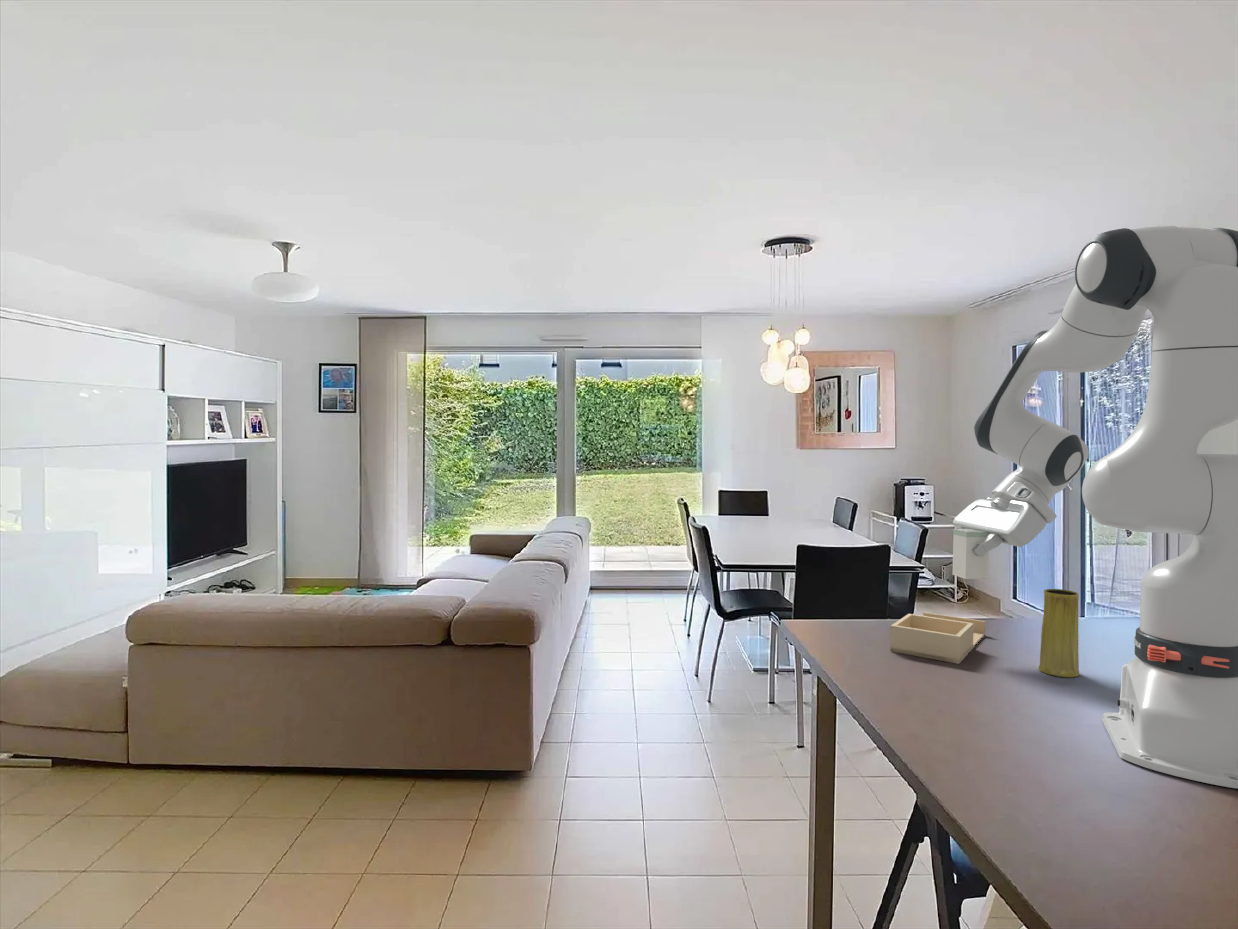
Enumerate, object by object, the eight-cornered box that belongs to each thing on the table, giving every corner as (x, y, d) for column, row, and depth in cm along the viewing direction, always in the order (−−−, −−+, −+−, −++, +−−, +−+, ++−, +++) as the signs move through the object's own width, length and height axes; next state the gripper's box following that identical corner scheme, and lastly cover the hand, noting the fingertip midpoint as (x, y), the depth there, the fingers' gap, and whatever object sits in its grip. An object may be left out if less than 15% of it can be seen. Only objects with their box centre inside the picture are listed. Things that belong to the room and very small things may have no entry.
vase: (1067, 667, 127) (1070, 588, 127) (1086, 678, 121) (1089, 596, 121) (1032, 666, 128) (1034, 587, 127) (1049, 677, 122) (1051, 595, 121)
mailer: (959, 663, 129) (959, 636, 129) (890, 651, 136) (890, 625, 136) (985, 635, 148) (985, 611, 148) (923, 625, 156) (924, 603, 155)
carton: (988, 578, 135) (989, 531, 135) (965, 579, 135) (966, 532, 134) (974, 574, 140) (975, 529, 139) (952, 574, 139) (953, 529, 139)
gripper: (974, 486, 147) (928, 533, 147) (1040, 493, 127) (987, 547, 127) (994, 507, 148) (948, 554, 147) (1063, 518, 128) (1010, 572, 127)
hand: (967, 551), depth 137 cm, fingers closed on carton, 4 cm apart
